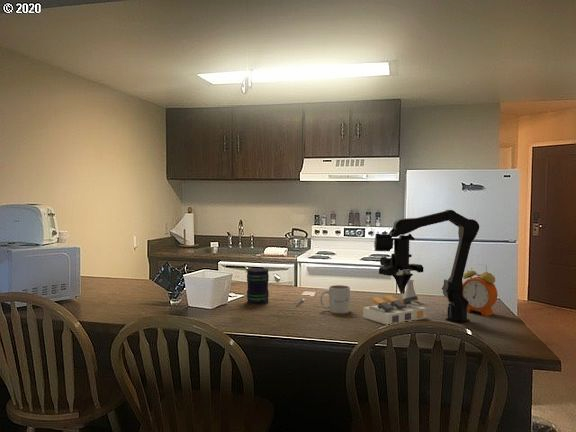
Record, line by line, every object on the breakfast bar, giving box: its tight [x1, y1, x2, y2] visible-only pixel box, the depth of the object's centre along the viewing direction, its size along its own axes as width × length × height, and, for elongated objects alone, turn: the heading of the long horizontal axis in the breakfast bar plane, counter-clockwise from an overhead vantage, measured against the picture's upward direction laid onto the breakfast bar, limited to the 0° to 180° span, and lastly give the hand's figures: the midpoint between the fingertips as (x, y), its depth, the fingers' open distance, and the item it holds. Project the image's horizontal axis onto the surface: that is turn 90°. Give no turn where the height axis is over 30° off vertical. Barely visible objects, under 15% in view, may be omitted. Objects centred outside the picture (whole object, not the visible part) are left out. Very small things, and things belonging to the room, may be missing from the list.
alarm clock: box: [462, 263, 499, 317], centre depth 195 cm, size 13×6×20 cm, turn 40°
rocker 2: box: [382, 295, 406, 309], centre depth 187 cm, size 9×4×2 cm, turn 32°
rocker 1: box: [370, 296, 394, 312], centre depth 183 cm, size 9×4×2 cm, turn 32°
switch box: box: [362, 302, 427, 326], centre depth 186 cm, size 14×20×5 cm
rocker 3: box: [398, 295, 419, 305], centre depth 190 cm, size 9×4×2 cm, turn 32°
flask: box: [402, 278, 419, 304], centre depth 216 cm, size 7×7×10 cm
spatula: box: [295, 291, 316, 308], centre depth 220 cm, size 6×29×2 cm, turn 166°
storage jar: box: [246, 267, 270, 306], centre depth 214 cm, size 10×10×15 cm
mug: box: [319, 284, 351, 314], centre depth 199 cm, size 12×9×10 cm
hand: (401, 291), depth 183 cm, fingers closed
